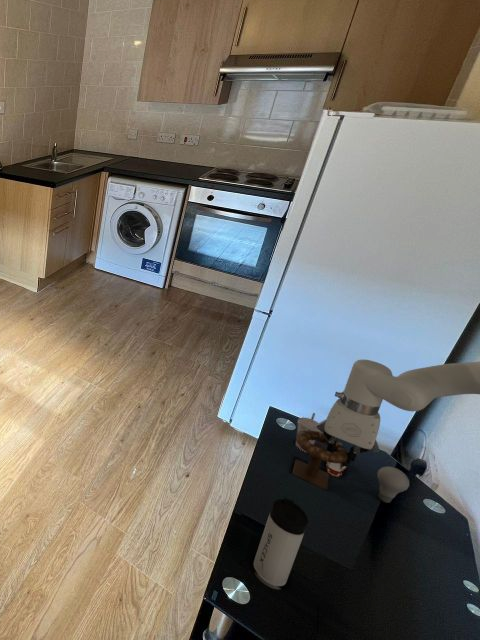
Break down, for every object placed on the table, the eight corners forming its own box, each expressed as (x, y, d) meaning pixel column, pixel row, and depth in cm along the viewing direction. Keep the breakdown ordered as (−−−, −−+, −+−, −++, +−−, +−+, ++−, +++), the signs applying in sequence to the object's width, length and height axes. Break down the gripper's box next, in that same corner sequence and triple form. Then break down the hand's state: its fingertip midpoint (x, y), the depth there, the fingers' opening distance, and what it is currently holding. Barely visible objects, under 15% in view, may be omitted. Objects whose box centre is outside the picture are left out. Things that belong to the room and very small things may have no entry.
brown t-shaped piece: (328, 476, 122) (339, 446, 118) (326, 492, 116) (337, 461, 113) (295, 461, 127) (304, 432, 124) (291, 476, 121) (301, 446, 118)
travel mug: (282, 569, 95) (306, 504, 89) (286, 596, 90) (312, 528, 84) (251, 555, 98) (271, 492, 92) (253, 580, 93) (275, 514, 87)
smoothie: (288, 447, 133) (299, 411, 129) (292, 438, 137) (304, 403, 133) (312, 458, 128) (325, 422, 124) (316, 448, 132) (329, 413, 128)
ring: (347, 449, 119) (350, 442, 118) (345, 472, 111) (348, 464, 110) (297, 429, 126) (300, 422, 125) (292, 449, 118) (295, 441, 118)
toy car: (321, 470, 124) (324, 462, 123) (324, 457, 129) (327, 449, 128) (343, 481, 120) (346, 473, 119) (346, 466, 125) (349, 458, 124)
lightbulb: (370, 488, 118) (382, 458, 115) (400, 502, 114) (413, 471, 110) (367, 499, 114) (379, 468, 111) (397, 514, 110) (411, 483, 106)
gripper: (319, 396, 113) (301, 448, 119) (403, 425, 102) (378, 482, 108) (321, 384, 118) (304, 435, 124) (401, 411, 107) (378, 466, 113)
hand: (339, 456), depth 116 cm, fingers closed on ring, 3 cm apart
